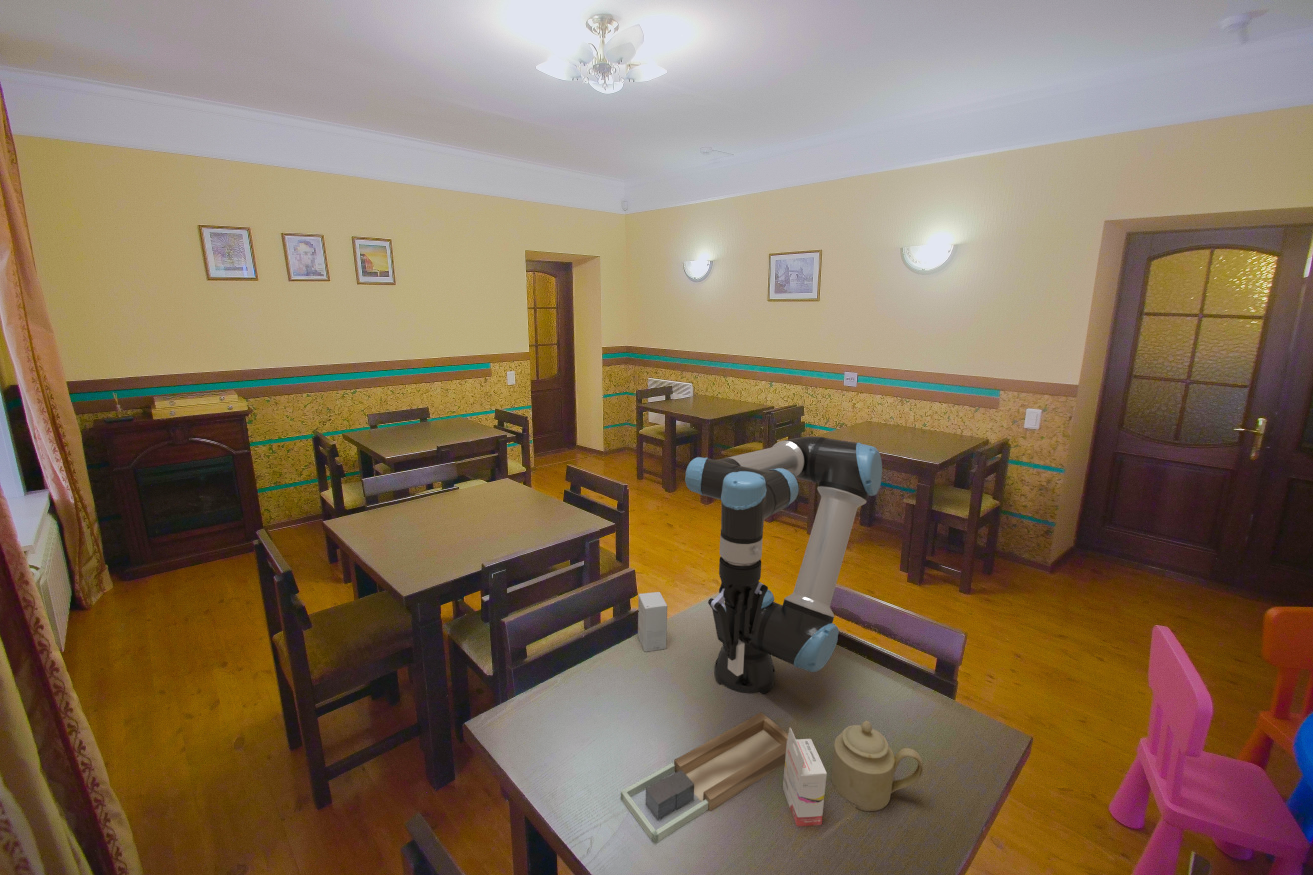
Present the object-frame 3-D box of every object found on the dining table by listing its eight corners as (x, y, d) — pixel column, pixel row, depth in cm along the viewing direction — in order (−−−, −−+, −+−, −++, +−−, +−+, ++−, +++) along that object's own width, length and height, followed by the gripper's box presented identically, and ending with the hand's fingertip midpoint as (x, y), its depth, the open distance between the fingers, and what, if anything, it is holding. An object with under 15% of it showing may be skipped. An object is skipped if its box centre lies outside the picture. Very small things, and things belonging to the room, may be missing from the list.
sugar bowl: (890, 760, 115) (898, 697, 112) (921, 807, 105) (931, 738, 101) (821, 767, 114) (827, 702, 110) (845, 814, 103) (853, 745, 99)
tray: (620, 802, 105) (620, 791, 104) (672, 773, 111) (672, 762, 111) (654, 848, 96) (654, 836, 95) (708, 813, 103) (708, 802, 102)
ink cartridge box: (823, 829, 100) (830, 759, 97) (795, 830, 99) (802, 761, 96) (806, 789, 108) (812, 723, 105) (781, 790, 108) (786, 724, 104)
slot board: (673, 774, 111) (674, 759, 110) (760, 725, 124) (761, 712, 124) (709, 815, 102) (710, 799, 101) (798, 757, 116) (799, 743, 115)
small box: (666, 649, 152) (668, 605, 149) (644, 652, 150) (644, 608, 147) (659, 632, 159) (660, 590, 156) (637, 635, 158) (637, 593, 155)
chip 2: (663, 796, 105) (664, 778, 104) (680, 786, 108) (681, 769, 107) (676, 812, 102) (676, 794, 101) (693, 801, 104) (694, 783, 103)
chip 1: (645, 806, 103) (645, 788, 102) (663, 796, 105) (663, 778, 105) (657, 822, 100) (658, 803, 99) (675, 811, 102) (676, 793, 101)
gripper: (727, 575, 95) (722, 695, 100) (781, 556, 102) (774, 669, 107) (699, 558, 101) (696, 672, 106) (752, 541, 108) (746, 649, 113)
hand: (735, 670), depth 107 cm, fingers closed
